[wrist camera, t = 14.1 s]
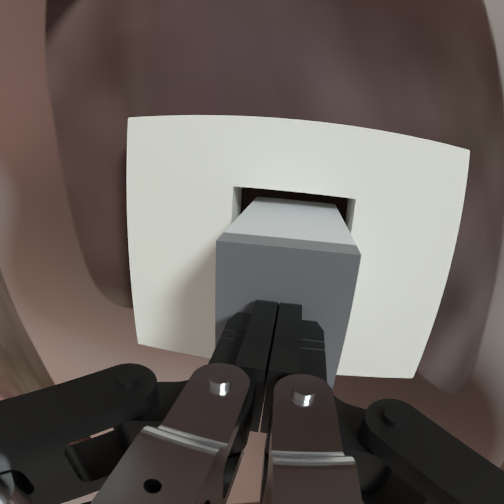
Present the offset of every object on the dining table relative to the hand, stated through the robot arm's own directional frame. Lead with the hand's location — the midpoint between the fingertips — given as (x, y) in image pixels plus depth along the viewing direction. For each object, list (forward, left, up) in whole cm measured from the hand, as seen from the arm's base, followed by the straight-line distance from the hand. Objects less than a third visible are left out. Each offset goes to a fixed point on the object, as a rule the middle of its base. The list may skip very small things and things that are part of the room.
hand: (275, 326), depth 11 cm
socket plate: (0, 0, -9) cm, 9 cm away
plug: (0, 0, -9) cm, 9 cm away
